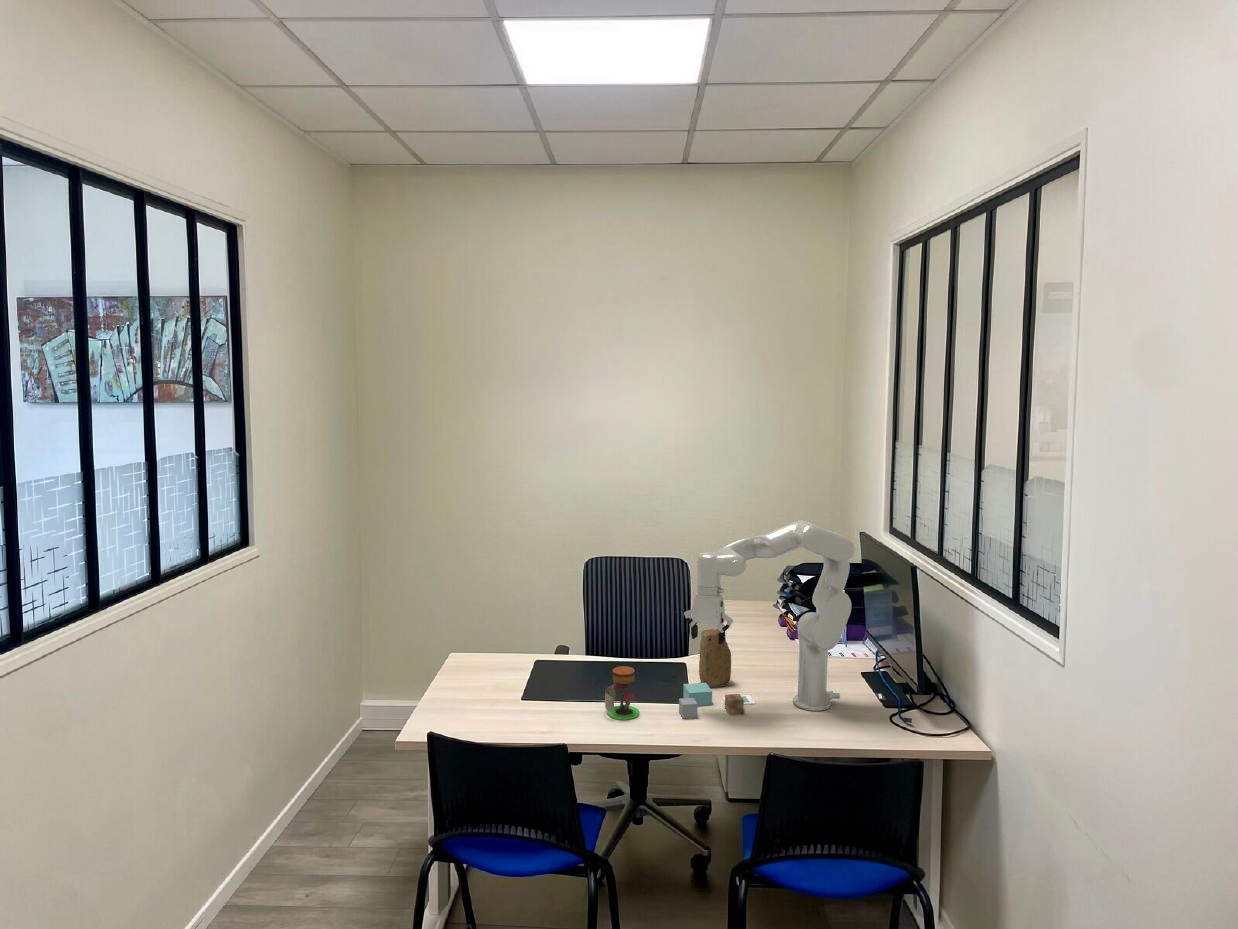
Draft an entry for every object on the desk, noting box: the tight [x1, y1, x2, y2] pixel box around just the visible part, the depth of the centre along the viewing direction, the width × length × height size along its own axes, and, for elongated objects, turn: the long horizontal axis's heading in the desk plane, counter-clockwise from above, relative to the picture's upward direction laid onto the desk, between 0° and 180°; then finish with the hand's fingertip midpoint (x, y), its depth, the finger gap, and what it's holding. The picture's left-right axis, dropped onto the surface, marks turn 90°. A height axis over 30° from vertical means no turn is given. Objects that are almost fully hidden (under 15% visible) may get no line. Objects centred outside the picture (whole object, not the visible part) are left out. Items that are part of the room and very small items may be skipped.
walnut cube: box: [724, 693, 745, 716], centre depth 277 cm, size 5×5×5 cm
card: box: [721, 694, 757, 706], centre depth 285 cm, size 10×7×1 cm
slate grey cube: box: [678, 697, 698, 720], centre depth 273 cm, size 5×5×5 cm
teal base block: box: [682, 682, 713, 707], centre depth 285 cm, size 8×8×5 cm
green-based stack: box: [604, 665, 640, 721], centre depth 274 cm, size 12×13×15 cm
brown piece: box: [698, 628, 732, 688], centre depth 299 cm, size 11×8×20 cm
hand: (707, 640), depth 274 cm, fingers open, 9 cm apart
